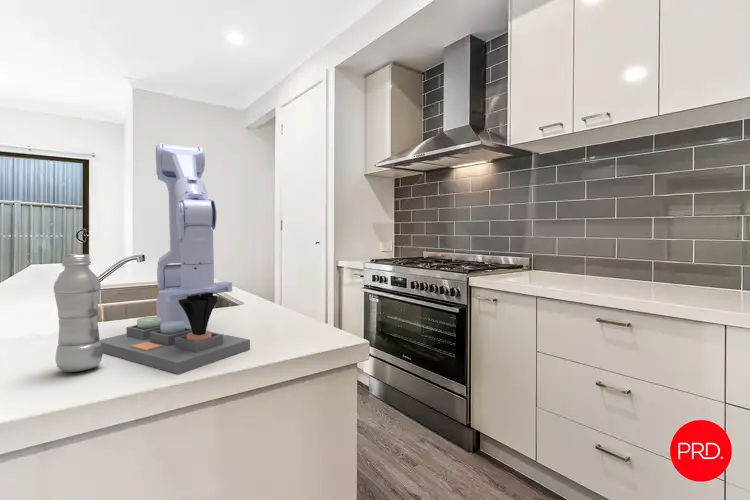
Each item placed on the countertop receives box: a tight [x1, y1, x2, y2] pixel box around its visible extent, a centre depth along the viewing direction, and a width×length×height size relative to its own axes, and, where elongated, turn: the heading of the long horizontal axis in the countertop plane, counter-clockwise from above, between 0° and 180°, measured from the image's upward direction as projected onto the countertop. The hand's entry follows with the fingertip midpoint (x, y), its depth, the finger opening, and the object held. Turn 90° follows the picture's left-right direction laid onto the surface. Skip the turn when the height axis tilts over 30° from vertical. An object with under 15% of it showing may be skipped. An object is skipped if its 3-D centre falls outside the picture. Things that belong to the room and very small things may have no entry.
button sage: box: [136, 316, 161, 330], centre depth 85 cm, size 4×4×2 cm
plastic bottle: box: [53, 253, 104, 373], centre depth 69 cm, size 6×7×20 cm
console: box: [99, 323, 251, 375], centre depth 81 cm, size 26×16×4 cm, turn 61°
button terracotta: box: [186, 330, 212, 341], centre depth 77 cm, size 4×4×2 cm
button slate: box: [160, 321, 185, 335], centre depth 81 cm, size 4×4×2 cm
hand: (199, 334), depth 77 cm, fingers closed, pressing on button terracotta
